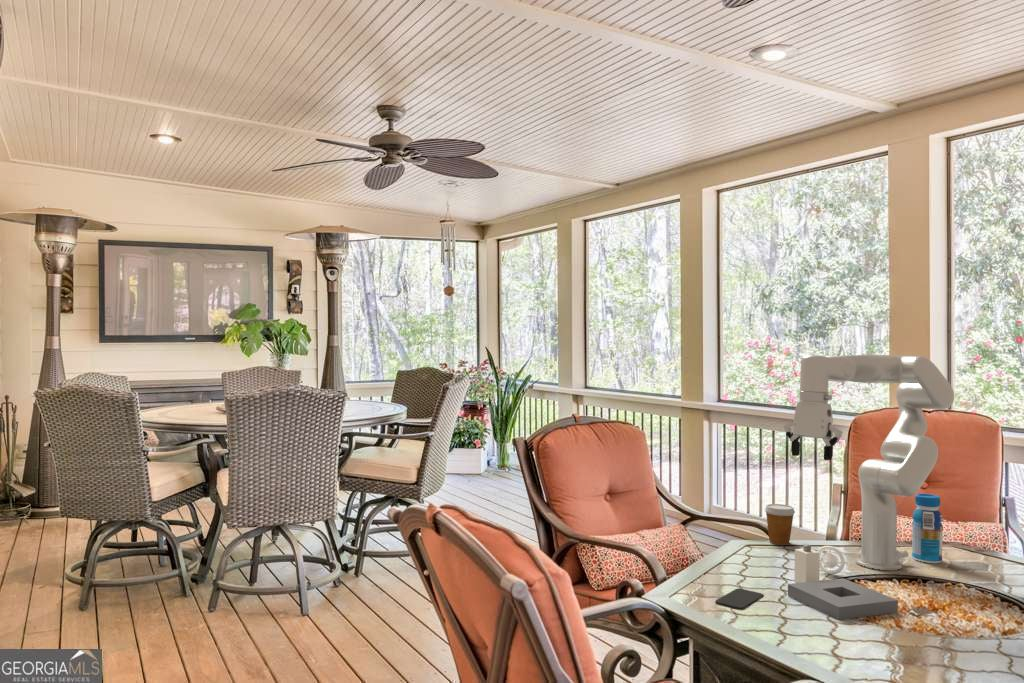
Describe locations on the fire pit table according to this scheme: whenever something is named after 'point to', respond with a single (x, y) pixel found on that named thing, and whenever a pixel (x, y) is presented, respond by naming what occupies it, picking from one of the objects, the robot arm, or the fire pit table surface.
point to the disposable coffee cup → (779, 523)
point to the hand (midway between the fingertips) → (811, 457)
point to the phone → (739, 599)
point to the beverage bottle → (927, 529)
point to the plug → (806, 564)
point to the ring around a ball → (831, 560)
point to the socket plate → (842, 598)
